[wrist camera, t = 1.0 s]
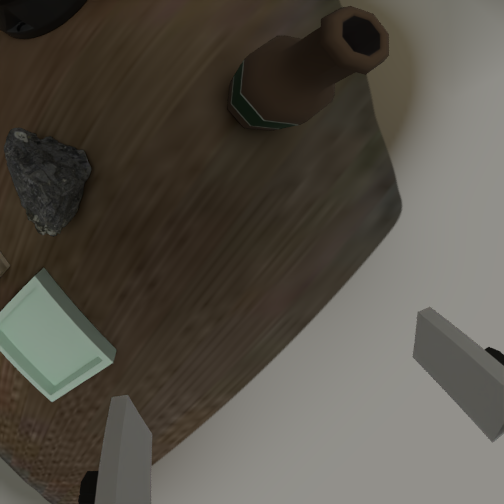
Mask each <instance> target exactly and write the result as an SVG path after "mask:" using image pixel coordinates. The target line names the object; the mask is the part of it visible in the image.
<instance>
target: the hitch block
mask: <svg viewBox="0 0 504 504" xmlns="http://www.w3.org/2000/svg"><path fill="white" fill-rule="evenodd" d="M9 267H10V264H9V263H8V262H7V260H6V259H5V257H4V256H3V255H2V253H1V252H0V277H1V276H2V275H3V273H4V272H5V271H6V270H7V269H8V268H9Z"/></svg>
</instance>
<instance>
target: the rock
mask: <svg viewBox="0 0 504 504" xmlns="http://www.w3.org/2000/svg"><path fill="white" fill-rule="evenodd" d="M4 152H5V157H6V160H7V166H8V169H9V172H10V174H11V177H12V180H13V182H14V186H15V189H16V191H17V192H18V196H19V198H20V199H21V205H22V207H24V208H25V209H26V214H27V216H28V220H30V221H32V222H34V224H35V228H36V230H37V232H38V233H40V234H42V235H45V234H46V233H48V234H49V235H51V236H53V237H54V236H56V235H57V233H59V234H60V232H61V229H62V227H65V226H66V225H67V224H68V222H69V221H71V219H72V218H73V217H74V216H75V214H76V213H77V211H78V209H79V203H80V200H81V198H82V194H83V188H84V183H85V181H86V180H87V179H88V177H89V175H90V172H91V166H90V164H89V162H88V159H87V157H86V154H85V152H84V151H83V150H77V149H76V148H74V147H72V146H66V145H64V144H62V143H58V141H57V140H55V139H53V138H52V137H51V136H49V137H45V138H44V139H42V140H41V139H39V138H37V135H36V134H34V133H31V132H28V131H26V130H25V129H22V128H14V129H11V130H10V132H9V134H8V136H7V139H6V143H5V145H4Z"/></svg>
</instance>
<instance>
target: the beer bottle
mask: <svg viewBox="0 0 504 504" xmlns="http://www.w3.org/2000/svg"><path fill="white" fill-rule="evenodd" d="M388 56H389V34H388V33H387V31H386V30H385V29H384V27H383V26H382V25H381V23H380V22H379V21H378V19H377V18H376V17H375V16H374V14H372V13H369V12H366V11H364V10H361V9H358V8H354V7H352V6H348V7H343V8H340V9H338V10H336V11H334V12H332V13H331V14H329V15H327V16H325V17H324V18H322V19H321V27H320V28H318V29H317V30H315V31H314V32H312V33H311V34H309V35H308V36H306V37H305V38H303V39H300V38H295V37H290V36H276V37H275V38H273V39H272V40H270V41H269V42H267V43H266V44H264V45H263V46H261V47H260V48H258V49H257V50H255V51H254V52H252V53H251V54H249V55H248V56H247V57H246V58H245V59H244V61H243V62H242V64H241V65H240V67H239V69H238V70H237V72H236V73H235V75H234V77H233V78H232V80H231V82H230V86H229V96H228V107H227V109H228V110H229V111H230V113H231V114H232V115H233V116H234V117H235V118H236V119H237V120H238V122H239V123H240V124H241V125H242V126H243V127H244V128H250V129H261V130H277V129H282V128H286V127H291V126H296V125H300V124H302V123H304V122H306V121H308V120H309V119H310V118H312V117H313V116H314V115H315V114H317V113H318V112H319V111H320V110H322V109H323V108H324V107H326V106H327V105H328V104H329V103H331V102H332V100H333V98H334V93H335V83H336V82H338V81H340V80H342V79H344V78H346V77H347V76H349V75H351V74H353V73H355V72H358V73H361V74H365V75H366V74H367V73H368V72H370V71H371V70H372V69H374V68H375V67H377V66H378V65H379V64H381V63H382V62H383V61H384V60H385V59H386V58H387V57H388Z"/></svg>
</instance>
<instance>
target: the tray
mask: <svg viewBox="0 0 504 504" xmlns="http://www.w3.org/2000/svg"><path fill="white" fill-rule="evenodd" d="M0 351H1V352H2V353H3V354H4V356H5V357H6V358H7V359H8V360H9V361H10V362H11V363H12V364H13V365H14V366H15V367H16V368H17V369H18V370H19V371H20V372H21V373H22V374H23V375H24V376H25V377H26V378H27V379H28V380H29V381H30V382H31V383H32V384H33V385H34V386H35V387H36V388H37V389H38V390H39V391H40V392H41V393H42V394H43V395H45V396H46V397H47V398H48V399H49V400H50V401H51V402H53V401H54V400H56V399H58V398H59V397H61V396H62V395H64V394H65V393H67V392H68V391H70V390H72V389H73V388H75V387H76V386H78V385H79V384H81V383H82V382H84V381H85V380H87V379H89V378H90V377H92V376H93V375H95V374H96V373H98V372H99V371H101V370H102V369H104V368H105V367H107V366H109V365H110V364H112V363H113V361H114V358H115V354H116V351H117V350H116V349H115V348H114V347H113V346H112V344H111V343H110V342H109V341H108V340H107V339H106V338H105V337H104V336H103V335H102V334H101V333H100V332H99V331H98V330H97V329H96V328H95V327H94V326H93V325H92V324H91V322H90V321H89V320H88V319H87V318H86V317H85V316H84V315H83V314H82V312H81V311H80V310H79V309H78V308H77V307H76V306H75V305H74V303H73V302H72V301H71V300H70V299H69V298H68V296H67V295H66V294H65V293H64V292H63V290H62V289H61V288H60V287H59V286H58V284H57V283H56V282H55V281H54V279H53V278H52V277H51V276H50V274H49V273H48V272H47V271H46V269H45V268H43V269H42V270H41V271H40V272H38V273H37V274H36V275H35V276H34V277H33V278H32V279H31V280H30V281H29V282H28V283H27V284H26V285H25V286H24V287H23V288H22V289H21V290H20V291H19V293H18V294H17V295H16V296H15V297H14V298H13V299H12V300H11V301H10V302H9V303H8V304H7V305H6V306H5V307H4V308H3V310H2V311H1V312H0Z"/></svg>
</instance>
